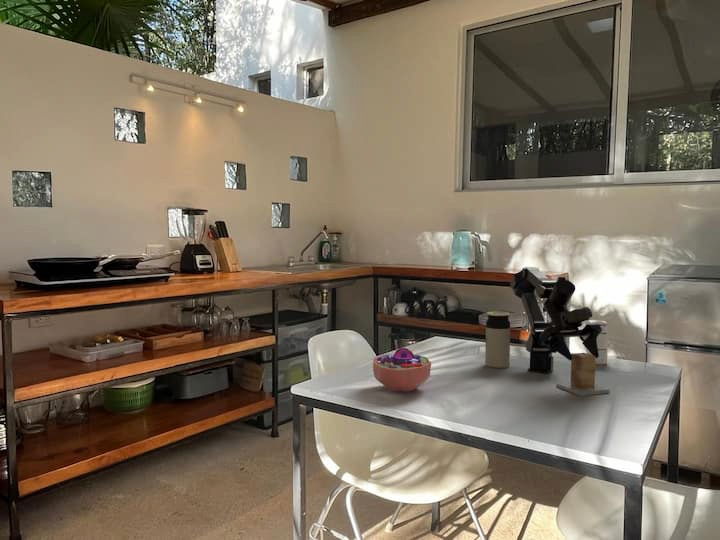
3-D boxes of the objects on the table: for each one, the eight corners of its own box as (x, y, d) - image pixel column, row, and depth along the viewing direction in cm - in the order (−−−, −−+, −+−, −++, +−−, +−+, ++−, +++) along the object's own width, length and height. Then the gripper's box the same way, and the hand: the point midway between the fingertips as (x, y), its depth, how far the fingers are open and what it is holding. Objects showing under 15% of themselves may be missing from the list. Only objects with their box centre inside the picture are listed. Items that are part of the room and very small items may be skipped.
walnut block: (570, 384, 158) (571, 353, 158) (583, 383, 160) (584, 352, 159) (581, 388, 154) (582, 357, 153) (594, 387, 155) (595, 355, 155)
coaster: (556, 386, 160) (556, 383, 160) (584, 383, 163) (584, 380, 163) (580, 396, 150) (580, 392, 150) (609, 392, 154) (609, 389, 154)
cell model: (362, 395, 151) (362, 354, 150) (384, 378, 169) (384, 342, 169) (422, 402, 145) (422, 359, 144) (438, 383, 164) (438, 345, 163)
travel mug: (512, 364, 188) (513, 312, 186) (505, 369, 181) (506, 315, 180) (489, 362, 192) (490, 310, 191) (481, 366, 185) (482, 313, 184)
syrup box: (607, 364, 189) (609, 322, 188) (589, 363, 190) (590, 321, 189) (603, 360, 194) (605, 320, 194) (586, 360, 196) (587, 319, 195)
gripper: (546, 299, 157) (572, 344, 147) (598, 296, 163) (626, 340, 153) (528, 322, 165) (552, 366, 155) (579, 319, 171) (604, 362, 161)
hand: (584, 358), depth 156 cm, fingers open, 9 cm apart
